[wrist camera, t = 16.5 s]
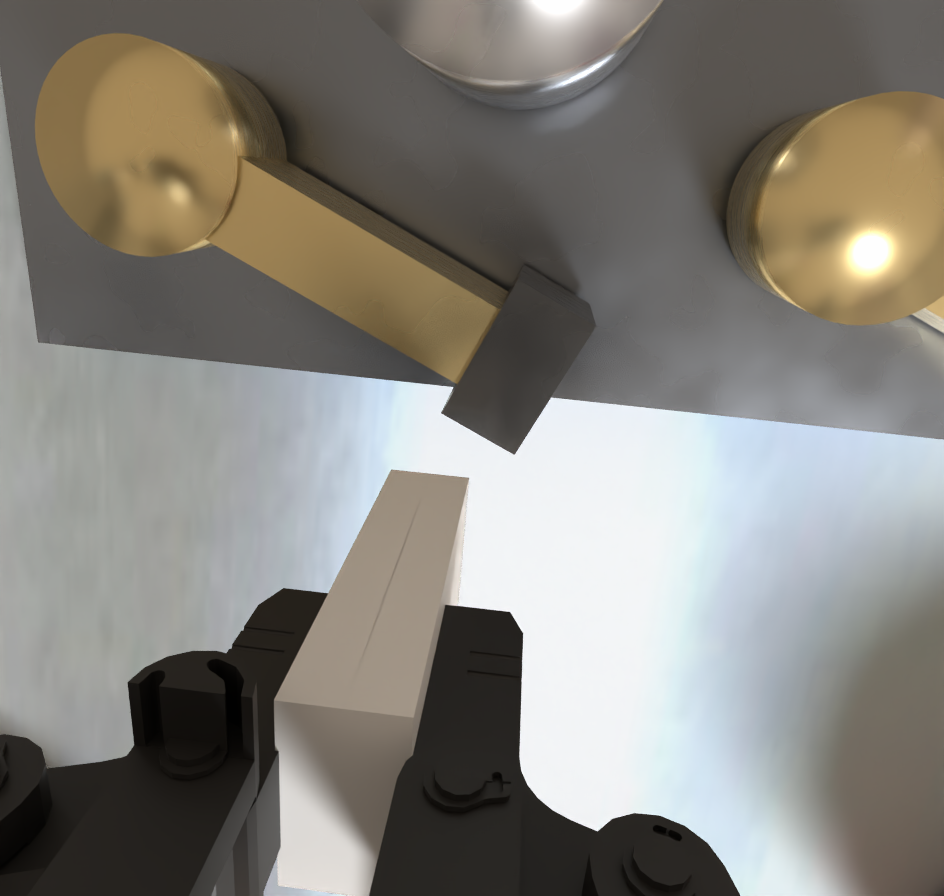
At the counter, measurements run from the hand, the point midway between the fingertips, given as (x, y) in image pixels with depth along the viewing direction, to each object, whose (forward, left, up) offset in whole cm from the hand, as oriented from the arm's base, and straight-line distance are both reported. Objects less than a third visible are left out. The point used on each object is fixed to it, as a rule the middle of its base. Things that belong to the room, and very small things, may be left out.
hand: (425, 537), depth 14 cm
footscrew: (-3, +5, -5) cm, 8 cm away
